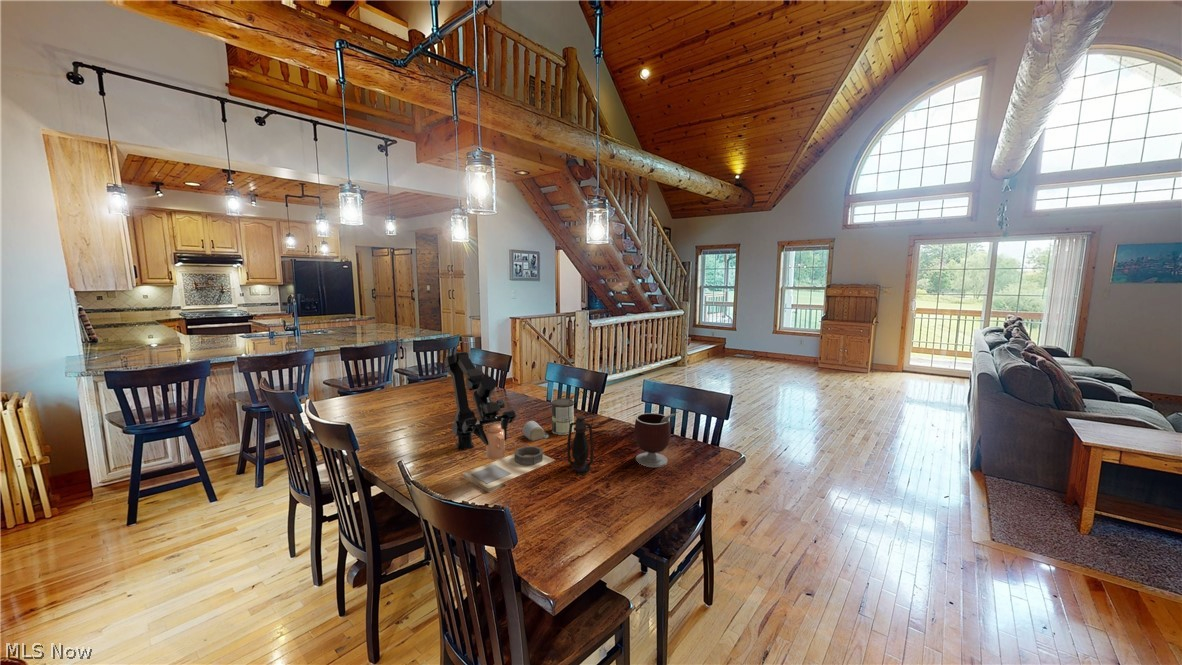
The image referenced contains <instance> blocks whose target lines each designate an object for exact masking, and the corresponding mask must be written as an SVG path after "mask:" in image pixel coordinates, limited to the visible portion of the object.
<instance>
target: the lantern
mask: <svg viewBox="0 0 1182 665" xmlns="http://www.w3.org/2000/svg"><path fill="white" fill-rule="evenodd" d="M580 393H582V394H583V395H584V396H585V397H587V398H588V399H589V401H590V403H591V406H592V407H591V408H592V410H594V403H593V402H592V399H591V398H590V397H589V396H588V395H586V394H585V392H583V391H579V392H577V393H575V394H574V395H573V396H572V397H570V398H569V399H570V401H571V400H573V398H574V397H576V396H577V395H578V394H580ZM570 401H569V403H570ZM568 416H569V408H568ZM575 418H576V419H574V423H571V424H570V420H569V425H570V426H569V434H568V436H567V442H566V443H567V445H566V451H567V452H566V455H567V456H566V458H567V459H566V461H567V462H568V463H569V464H570V467H571V469H572V470H576V471H575V472H574V473H575V475H577V474H579V475H587V474H588V473H590V472H591V471H592V470H591V465H593V464H594V451H595V450H594V447H595V446H594V436H593V428H592V427H593V424H590V423H587V421H586V416H585V415H583V414H582V415H579V414H578V415H577V416H575ZM593 420H594V416H592V420H591V423H593ZM573 425H574V432H575V435H574V437H573V439H571V438H572V426H573ZM587 427H588V428H587ZM587 430H588V432H589V441H588V439H587V435H586V431H587ZM571 440H572V441H571ZM571 442H572V443H571ZM588 442H590V444H589V443H588ZM589 447H590V448H589ZM589 454H590V456H589ZM589 457H590V459H589V461H587V460H588V458H589ZM589 471H590V472H589ZM587 472H588V473H587ZM586 473H587V474H586Z"/></svg>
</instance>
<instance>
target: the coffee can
mask: <svg viewBox="0 0 1182 665" xmlns="http://www.w3.org/2000/svg"><path fill="white" fill-rule="evenodd" d="M570 399H571V398H557V399H553V400H552V401H551V426H552V427H551V433H553V434H554V435H557V434H558V436H566V435H567V434H569V426H570V425H569V420H570V424H571V423H574V422H575V410H574V408H575V401H574V400H573V399H571V401H570ZM569 401H570V403H569ZM568 408H569V416H568ZM574 428H575V425H573V426H572V432H573V433H574V432H575V430H574Z"/></svg>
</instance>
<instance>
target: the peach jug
mask: <svg viewBox="0 0 1182 665" xmlns="http://www.w3.org/2000/svg"><path fill="white" fill-rule="evenodd" d="M487 428H488V429H487V430H486V431H485V435H486V438H487V440H488V445H486V444H485V453H486V454H485V455H486V458H487V459H489V460H499V459H502V458H505V457H506V456H505V454H506V452H505V450H506V449H505V448H506V446H505V445H506V444H505V441H504V429H502V428H501V424H500V423H490V424H488V427H487Z"/></svg>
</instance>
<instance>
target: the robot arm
mask: <svg viewBox="0 0 1182 665" xmlns="http://www.w3.org/2000/svg"><path fill="white" fill-rule="evenodd" d="M443 362H444V366H445V369H446V372H447V373H448V374H449V375H450V377H451V380H452V385H453V391H454V397H455V402H456V409H457V411H456V414H455V416H454V422H453V425H452V427H451V430H452V434H454V435H455V436H456V437H457V443H455V446H456V449H457V450H458V451H461V450H467V449H473V448H475V445H474V443H473V442H472V441H473V438H472V435H473V434H474V435H475V436H476V437H478V438H479V439H480V440H481V441H482V443H484V444H485V446H486V445H488V440H487V438H486V431H485V429H484V425H490V424H495V423H497V422H499V424H501V428H502V429H504V442H505V441H507V436H508V435H507V434H508V433H507V430H508V425H509V424H512V423H513V422H514V421H515V419H516V417H517V413H516V411H515V410H514V409H511V410H510V409H509V410H507V411H506V410H505V411H503V413H502V414H501V415H499V412H501V411H502V410H503V409H505V407H506V405H505V402H504V399H502V398H500V399H497V400H496V401H495V402H494V401H492V399H491V396H492V395H493V393H494V391H495V389H496V387H497V385H498V383H497V380H496V379H495V378H494V377H492V376H489V373H484V372H483V371H482V370H479V369H477V368H476V366H475V364H474V363H473V362H472V359H470V356H469V353H468V351H467V352H466V351H461V352H455V353H453V354H451V355H447V356H446V357H445V359H444V361H443ZM464 376H465V377H464ZM467 390H468V391H469V392H470V391H471V392H472V391H474V393H473V394H472V400H473V401H474V403H475V407H476V414H478V415H479V419H478V418H477V417H475V416H476V414H475V412H474V410H472V409H471V408H470V406H469V399H468V394H467ZM497 415H498V416H497Z"/></svg>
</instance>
